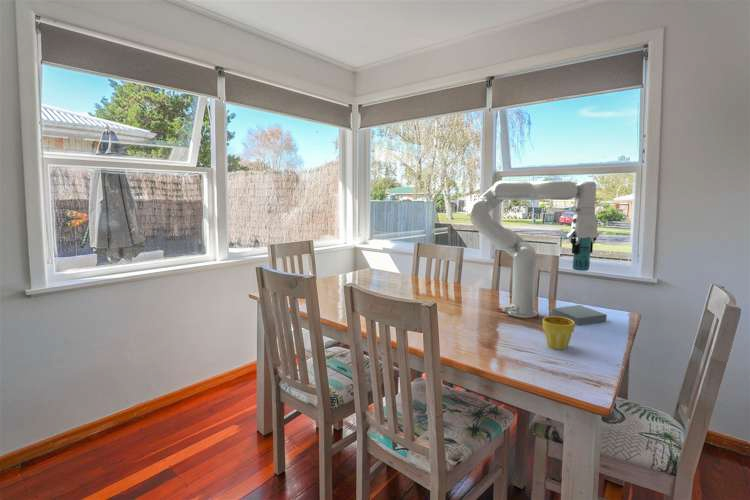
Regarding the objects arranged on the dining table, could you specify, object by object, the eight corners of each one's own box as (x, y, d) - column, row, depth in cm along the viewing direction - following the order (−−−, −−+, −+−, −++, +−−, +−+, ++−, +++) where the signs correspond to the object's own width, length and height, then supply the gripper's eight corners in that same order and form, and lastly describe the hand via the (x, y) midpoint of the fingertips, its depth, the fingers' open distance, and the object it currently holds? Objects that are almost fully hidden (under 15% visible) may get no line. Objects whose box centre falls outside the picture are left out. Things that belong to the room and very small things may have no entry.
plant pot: (560, 354, 137) (561, 327, 136) (535, 344, 147) (536, 318, 145) (579, 348, 142) (581, 322, 141) (554, 339, 151) (555, 314, 150)
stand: (577, 325, 166) (577, 318, 165) (552, 314, 180) (552, 308, 179) (606, 321, 170) (606, 314, 169) (579, 311, 184) (579, 305, 184)
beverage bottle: (569, 271, 175) (571, 226, 172) (583, 271, 175) (586, 225, 172) (577, 274, 168) (580, 227, 165) (592, 274, 169) (596, 227, 166)
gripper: (574, 212, 162) (572, 255, 165) (608, 211, 167) (605, 253, 169) (561, 211, 169) (558, 253, 172) (594, 210, 174) (591, 250, 176)
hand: (582, 252), depth 170 cm, fingers closed on beverage bottle, 6 cm apart
